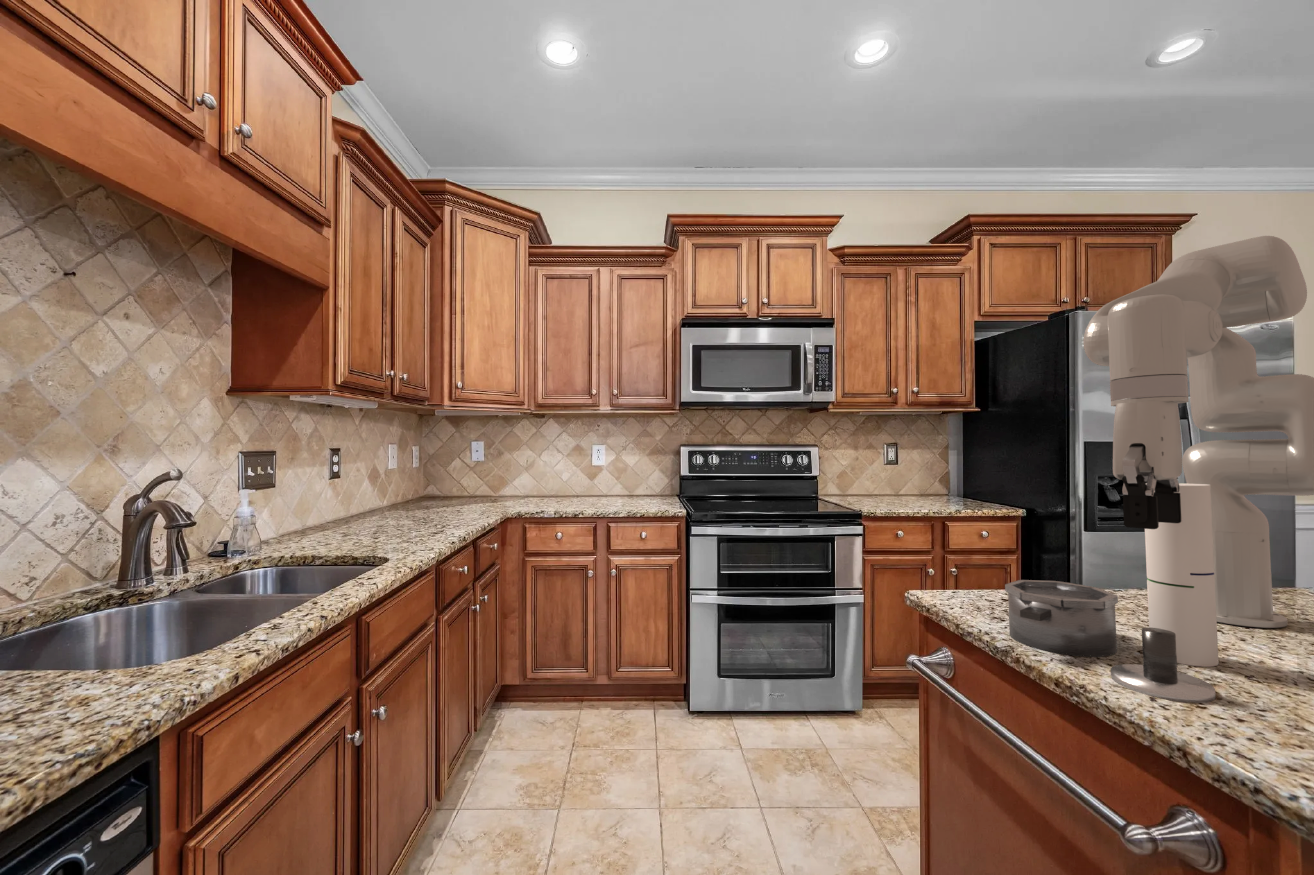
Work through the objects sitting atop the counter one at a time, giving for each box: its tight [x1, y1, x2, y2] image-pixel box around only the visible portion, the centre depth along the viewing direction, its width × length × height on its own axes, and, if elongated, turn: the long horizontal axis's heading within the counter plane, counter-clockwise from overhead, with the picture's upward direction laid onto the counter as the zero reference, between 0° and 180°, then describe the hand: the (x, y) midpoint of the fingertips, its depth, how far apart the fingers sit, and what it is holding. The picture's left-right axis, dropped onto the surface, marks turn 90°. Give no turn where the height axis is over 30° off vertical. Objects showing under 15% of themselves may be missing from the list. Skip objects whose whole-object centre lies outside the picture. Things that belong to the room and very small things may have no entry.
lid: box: [1110, 627, 1217, 704], centre depth 70 cm, size 10×10×7 cm
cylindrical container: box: [1144, 482, 1220, 668], centre depth 79 cm, size 7×7×25 cm
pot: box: [1004, 579, 1119, 658], centre depth 86 cm, size 21×14×8 cm, turn 124°
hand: (1153, 525), depth 70 cm, fingers open, 9 cm apart
